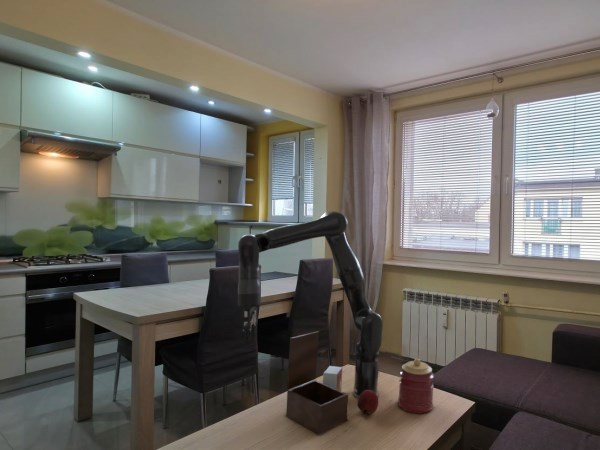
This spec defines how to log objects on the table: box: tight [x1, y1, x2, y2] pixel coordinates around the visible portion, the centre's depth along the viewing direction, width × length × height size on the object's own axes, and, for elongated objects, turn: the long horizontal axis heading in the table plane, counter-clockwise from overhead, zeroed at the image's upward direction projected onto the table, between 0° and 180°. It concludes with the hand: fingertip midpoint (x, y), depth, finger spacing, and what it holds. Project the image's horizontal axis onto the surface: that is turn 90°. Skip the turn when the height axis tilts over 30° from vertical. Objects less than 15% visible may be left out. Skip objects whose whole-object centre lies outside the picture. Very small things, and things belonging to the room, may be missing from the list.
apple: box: [356, 390, 379, 415], centre depth 136 cm, size 7×8×8 cm
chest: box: [285, 379, 349, 435], centre depth 130 cm, size 17×13×9 cm
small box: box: [322, 365, 343, 391], centre depth 147 cm, size 8×6×10 cm
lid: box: [286, 330, 320, 390], centre depth 135 cm, size 18×13×1 cm
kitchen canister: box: [397, 358, 435, 414], centre depth 143 cm, size 13×13×18 cm
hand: (249, 340), depth 130 cm, fingers open, 8 cm apart
